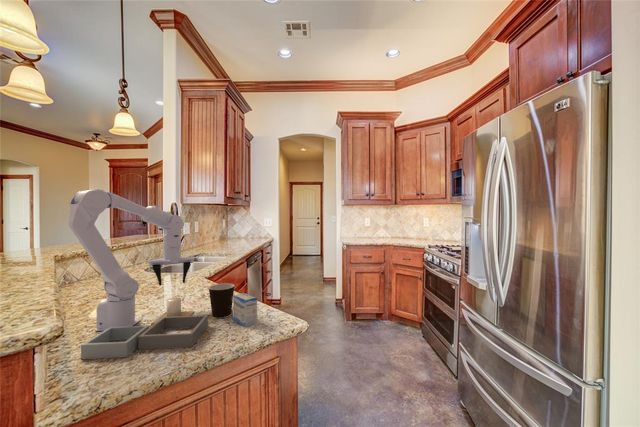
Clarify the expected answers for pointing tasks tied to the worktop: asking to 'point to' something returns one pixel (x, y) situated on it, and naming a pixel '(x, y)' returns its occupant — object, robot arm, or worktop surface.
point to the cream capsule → (173, 307)
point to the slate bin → (106, 349)
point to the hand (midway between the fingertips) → (172, 283)
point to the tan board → (185, 313)
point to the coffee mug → (221, 299)
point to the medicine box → (245, 309)
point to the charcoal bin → (181, 340)
